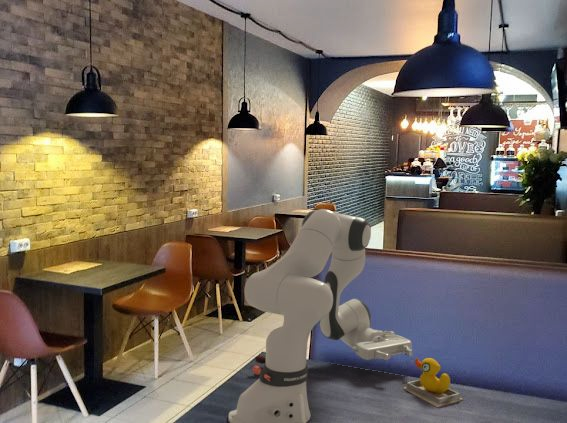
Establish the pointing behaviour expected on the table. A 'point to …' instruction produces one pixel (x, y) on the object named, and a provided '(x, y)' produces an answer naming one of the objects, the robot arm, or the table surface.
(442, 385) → the duckling
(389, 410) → the table surface
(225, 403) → the table surface
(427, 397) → the shallow wooden tray
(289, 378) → the robot arm
